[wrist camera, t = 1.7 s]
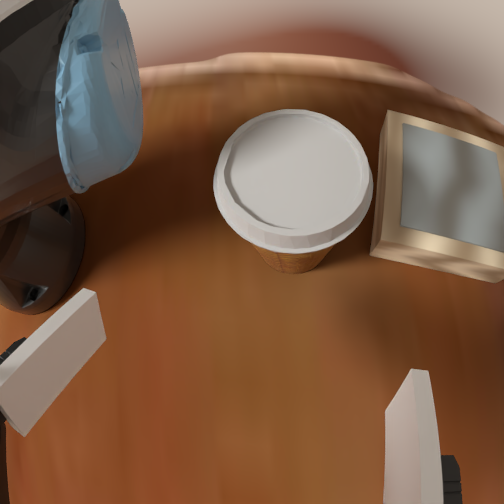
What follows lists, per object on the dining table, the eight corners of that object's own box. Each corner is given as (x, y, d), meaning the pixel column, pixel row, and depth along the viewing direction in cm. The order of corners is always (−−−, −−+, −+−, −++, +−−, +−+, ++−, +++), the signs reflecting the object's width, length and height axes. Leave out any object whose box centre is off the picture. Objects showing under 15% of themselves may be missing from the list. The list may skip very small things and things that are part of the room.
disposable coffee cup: (287, 174, 31) (282, 84, 20) (366, 235, 28) (406, 161, 17) (217, 244, 29) (175, 175, 18) (298, 315, 27) (304, 284, 15)
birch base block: (369, 255, 28) (381, 238, 24) (379, 134, 31) (388, 108, 28) (495, 283, 25) (518, 272, 21) (488, 166, 29) (504, 146, 25)
